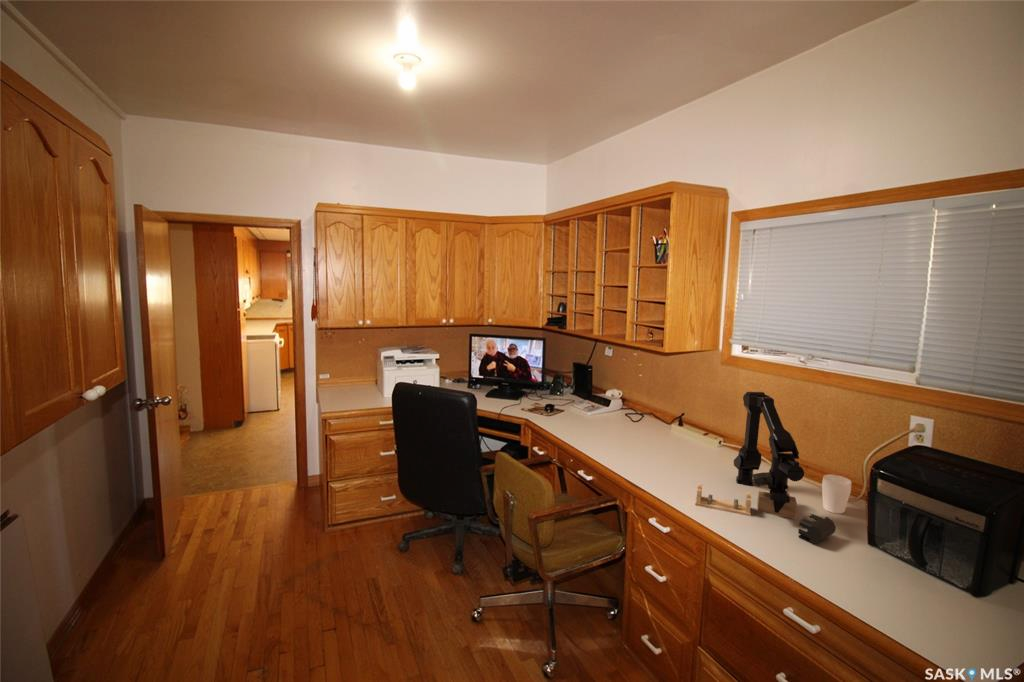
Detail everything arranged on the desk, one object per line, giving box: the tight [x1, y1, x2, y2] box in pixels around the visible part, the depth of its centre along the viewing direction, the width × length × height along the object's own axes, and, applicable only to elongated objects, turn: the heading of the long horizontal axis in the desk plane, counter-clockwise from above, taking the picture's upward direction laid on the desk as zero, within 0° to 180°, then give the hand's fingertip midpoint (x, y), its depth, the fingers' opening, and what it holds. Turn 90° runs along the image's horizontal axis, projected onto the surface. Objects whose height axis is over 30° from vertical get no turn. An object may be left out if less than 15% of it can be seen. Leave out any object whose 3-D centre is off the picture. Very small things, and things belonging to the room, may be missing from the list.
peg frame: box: [694, 483, 752, 517], centre depth 183 cm, size 7×19×6 cm, turn 65°
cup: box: [821, 474, 852, 515], centre depth 181 cm, size 9×9×12 cm
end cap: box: [797, 513, 837, 545], centre depth 162 cm, size 10×7×7 cm
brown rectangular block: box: [757, 490, 798, 519], centre depth 179 cm, size 5×12×6 cm, turn 65°
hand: (775, 509), depth 180 cm, fingers closed on brown rectangular block, 5 cm apart
